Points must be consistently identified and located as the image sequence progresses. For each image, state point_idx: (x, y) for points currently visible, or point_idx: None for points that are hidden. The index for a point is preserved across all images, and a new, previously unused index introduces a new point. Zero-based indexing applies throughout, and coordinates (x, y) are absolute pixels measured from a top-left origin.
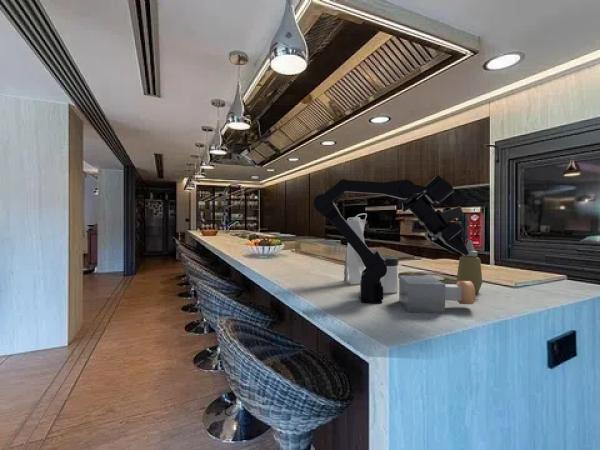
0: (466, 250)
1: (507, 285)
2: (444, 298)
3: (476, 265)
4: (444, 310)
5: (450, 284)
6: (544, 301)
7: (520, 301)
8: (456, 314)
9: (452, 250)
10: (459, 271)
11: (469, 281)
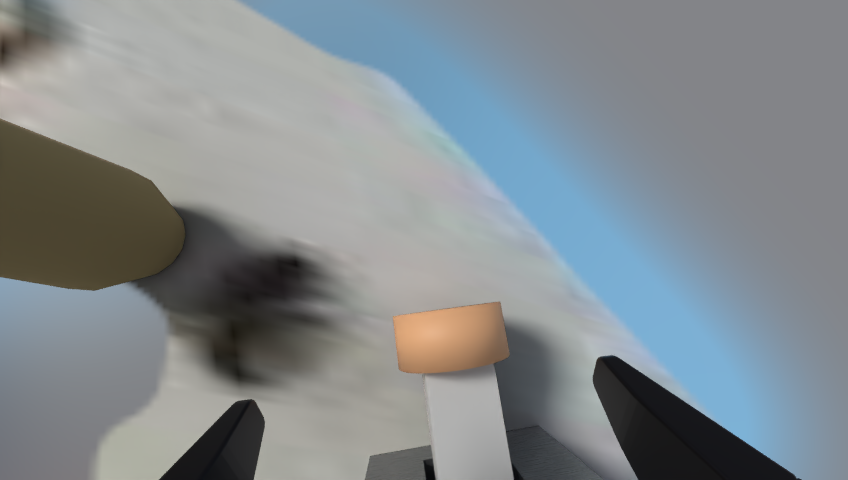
0: (654, 393)
1: (6, 39)
2: (569, 453)
3: (57, 165)
4: (544, 431)
5: (434, 410)
6: (286, 30)
7: (300, 102)
8: (538, 382)
9: (242, 470)
10: (43, 275)
11: (457, 315)
